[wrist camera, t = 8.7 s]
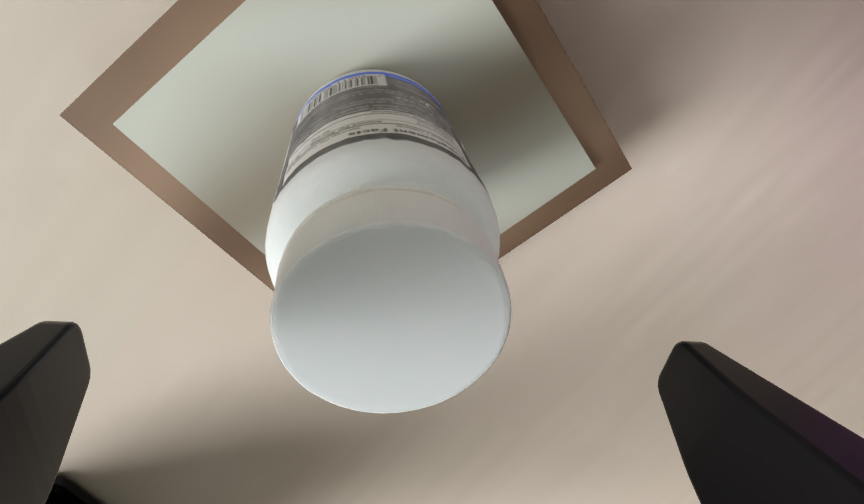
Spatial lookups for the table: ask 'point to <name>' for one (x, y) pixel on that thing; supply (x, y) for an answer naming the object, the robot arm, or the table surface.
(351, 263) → the pill bottle
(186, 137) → the pedestal
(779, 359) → the table surface
